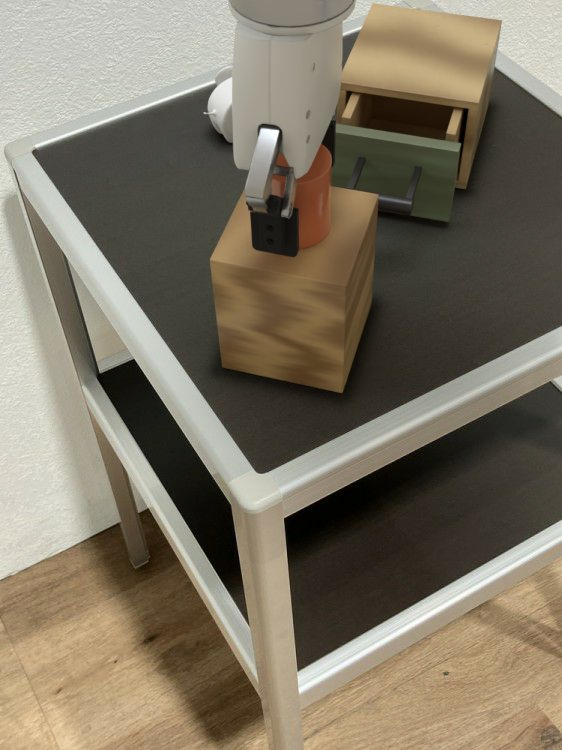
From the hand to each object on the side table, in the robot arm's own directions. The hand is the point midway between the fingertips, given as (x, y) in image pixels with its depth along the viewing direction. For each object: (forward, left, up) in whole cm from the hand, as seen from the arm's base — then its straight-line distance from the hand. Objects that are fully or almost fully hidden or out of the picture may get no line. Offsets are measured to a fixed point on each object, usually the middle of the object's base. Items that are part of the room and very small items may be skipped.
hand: (295, 205), depth 69 cm
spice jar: (0, 0, -2) cm, 2 cm away
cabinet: (-4, -28, -14) cm, 32 cm away
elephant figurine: (+13, -25, -14) cm, 31 cm away
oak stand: (0, 0, -14) cm, 14 cm away
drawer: (-4, -19, -13) cm, 23 cm away
